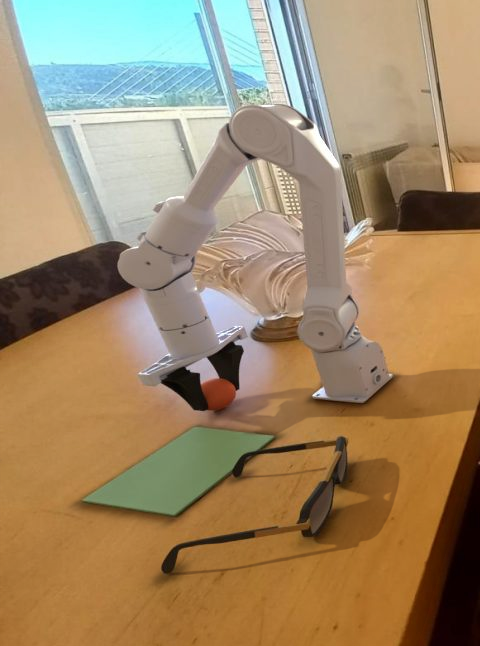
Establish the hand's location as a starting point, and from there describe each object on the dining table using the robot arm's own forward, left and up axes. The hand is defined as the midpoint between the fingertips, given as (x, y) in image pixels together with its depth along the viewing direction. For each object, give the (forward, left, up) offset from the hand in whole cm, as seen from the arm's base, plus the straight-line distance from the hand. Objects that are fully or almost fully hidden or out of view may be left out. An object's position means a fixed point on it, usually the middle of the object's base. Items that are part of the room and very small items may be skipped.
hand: (217, 398), depth 75 cm
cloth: (-8, +12, -2) cm, 15 cm away
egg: (0, 0, +1) cm, 1 cm away
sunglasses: (-26, +16, -2) cm, 31 cm away
